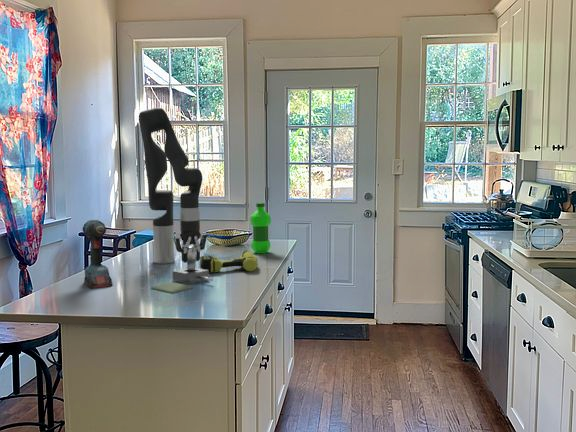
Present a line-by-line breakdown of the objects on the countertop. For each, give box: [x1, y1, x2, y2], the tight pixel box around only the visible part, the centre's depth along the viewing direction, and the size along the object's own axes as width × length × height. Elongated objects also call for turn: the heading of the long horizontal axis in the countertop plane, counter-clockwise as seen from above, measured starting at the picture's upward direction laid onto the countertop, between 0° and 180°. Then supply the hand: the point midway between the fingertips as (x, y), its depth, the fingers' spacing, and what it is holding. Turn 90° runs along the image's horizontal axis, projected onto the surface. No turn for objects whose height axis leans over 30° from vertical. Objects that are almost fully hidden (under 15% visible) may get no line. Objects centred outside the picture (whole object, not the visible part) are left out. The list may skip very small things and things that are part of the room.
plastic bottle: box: [250, 202, 272, 254], centre depth 286 cm, size 10×10×25 cm
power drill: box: [82, 219, 114, 289], centre depth 220 cm, size 9×23×25 cm, turn 27°
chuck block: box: [172, 267, 214, 286], centre depth 225 cm, size 17×10×4 cm, turn 52°
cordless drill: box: [199, 250, 259, 275], centre depth 252 cm, size 7×25×25 cm
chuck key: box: [186, 245, 198, 272], centre depth 227 cm, size 5×7×11 cm
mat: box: [150, 281, 194, 294], centre depth 215 cm, size 12×10×1 cm
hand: (191, 261), depth 227 cm, fingers closed on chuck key, 4 cm apart
